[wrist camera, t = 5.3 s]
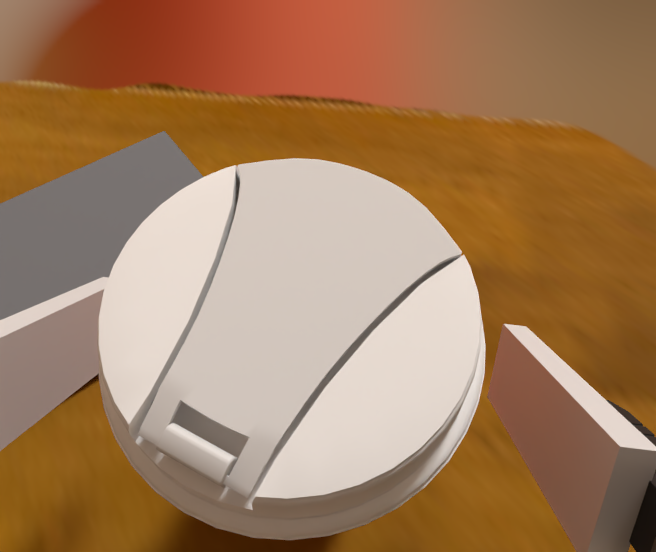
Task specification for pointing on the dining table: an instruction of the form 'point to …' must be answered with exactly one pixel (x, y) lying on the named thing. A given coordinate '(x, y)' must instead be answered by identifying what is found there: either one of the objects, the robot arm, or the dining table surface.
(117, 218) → the mat
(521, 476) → the dining table surface
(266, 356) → the paper cup
